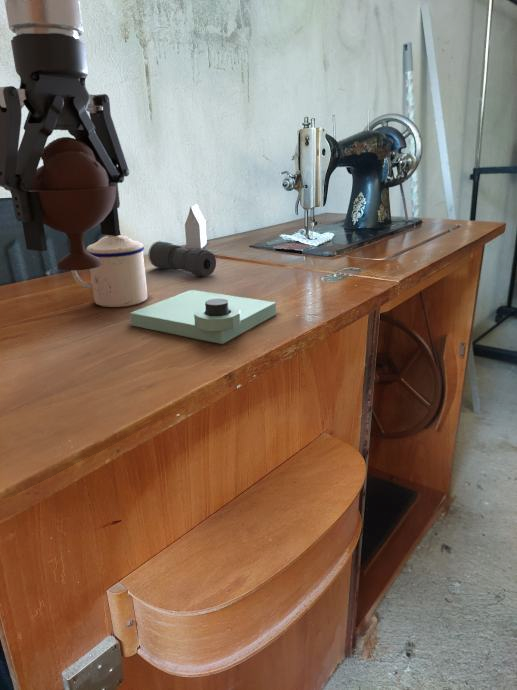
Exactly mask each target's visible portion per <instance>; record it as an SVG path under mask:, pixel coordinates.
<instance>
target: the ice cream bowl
mask: <svg viewBox="0 0 517 690" xmlns="http://www.w3.org/2000/svg"><path fill="white" fill-rule="evenodd" d="M40 161H42V165H41V166H38V168H37V170H36V173H35V176H34V179H33V182H32V185H31V188H30V190H29V191H38V194H39V200H40V206H41V213H42V219H43V225H44V226H47V227H49V228H51V230H54V231H58V232H61V233H64V234H65V235H66V236H67V238H68V241H69V249H70V252H69V253H68V254H66V255H64V256H63V257H62V258H61V259H59V261H57V265H56V266H57V269H58V270H62V271H67V272H69V271H71V270H77V271H86V270H90V269H92V268H96V267H99V266H101V265H102V263H101V261H100V259H99V258H98V257H96V256H94V255H92V254H90V253H88V252H86V247H85V241H84V239H85V235H86V232H88V231H90V230H92V229H94V228H95V227H97V226H98V225H99V224H100V223H101V222H102V221H103V220H104V219H105V218H106V217H107V215H108V214H109V213H110V212H111V210H112V208H113V205H114V202H115V199H116V186H114V185H112V184H108V182H109V180H108V176H107V173H106V170H105V169H104V168H103V167H102V166H101V165H100V164H99V163H98V162H97V161H96V160H95V156H94V154H93V151H92V150H91V149H90V148H89V146H88V145H87V144H85V143H84V142H82V141H80V140H78V139H75V137H70V136H61V137H58V138H56V139H53V140H52V141H51V142H49V143H47V145H45V147H44V150H43V153H42V156H41V159H40Z"/></svg>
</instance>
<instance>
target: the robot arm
mask: <svg viewBox="0 0 517 690" xmlns="http://www.w3.org/2000/svg"><path fill="white" fill-rule="evenodd" d="M80 1H81V0H4V7H5V12H6V18H7V25H8V29H9V30H10V31H11V32H12V33H14V34H15V35H14V36H13V37H12V39H11V40H10V44H11V45H10V46H11V51H12V57H13V63H14V69H15V73H16V74H17V75H18V76H19V79H20V81H19V82H20V83H19V88H17V87H15V86H13V85H9V86H0V187H1V188H3V189H4V190H5V191H8V192H9V193H10V195H11V200H12V205H13V211H14V217H15V219H16V220H17V222H21V223H22V229H23V236H24V241H25V246H26V250H29V251H35V252H47V251H48V244H47V239H46V238H47V237H46V232H45V224H43V219H42V213H41V206H40V200H39V194H38V191H29V190H30V188H31V185H32V182H33V179H34V176H35V173H36V170H37V169H38V168H39V164H40V161H41V156H42V153H43V150H44V148H45V147H46V144H47V141H48V138H49V137H50V136H52V134H53V132H54V131H67V132H68V133H69V135H70V136H72V137H73V138H74V139H78V140H80V141H82V142H84V143H85V144H87V145H88V146H89V148H90V149H91V150H92V151H93V154H94V156H95V160H96V161H97V162H98V163H99V164H100V165H101V166H102V167H103V168H104V169H105V170H106V173H107V176H108V180H109V182H108V184H112V185H114V186H116V199H115V202H114V205H113V208H112V210H111V212H110V213H109V214H108V215H107V217H106V218H105V219H104V220H103V221H102V222H101V223H99V224H100V233H101V235H102V236H107V235H111V236H119V235H121V229H120V227H121V226H120V218H119V211H118V209H119V208H120V206H121V202H120V191H119V184H122V183H124V181H125V177H129V175H130V169H129V165H128V163H127V160H126V156H125V154H124V150H123V147H122V145H121V142H120V139H119V138H120V137H119V135H118V133H117V130H116V127H115V123H114V120H113V118H112V115H111V103H110V97H109V95H108V94H106V93H99V94H91V93H90V92H88V89H87V85H86V79H87V77H88V76H89V68H88V59H87V49H86V45H85V43H84V41H83V40H82V39H80V37H81V36H83V34H84V33H85V32H84V24H83V16H82V9H81V2H80ZM23 107H25V109H27V111H28V113H27V115H26V118H25V122H24V124H23V130H24V132H23V135H22V138H21V141H20V136H21V129H22V127H21V126H22V115H23V114H22V110H23ZM88 113H89V114H88Z"/></svg>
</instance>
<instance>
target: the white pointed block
mask: <svg viewBox="0 0 517 690" xmlns="http://www.w3.org/2000/svg"><path fill="white" fill-rule="evenodd" d="M206 225H207V224H206V219H205V217H204V216H203V213H202V212H201V210H200V207H199V204H198V203H197V204H193V205H192V206H190V207H189V211H188V215H187V218H186V220H185V223H184V232H185V245H186V247H185V248H186V249H194V250H196V249H203V248H204V247H205V246H206V245H207V244H208V241H207V227H206Z"/></svg>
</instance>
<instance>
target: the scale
mask: <svg viewBox="0 0 517 690" xmlns="http://www.w3.org/2000/svg"><path fill="white" fill-rule="evenodd" d="M210 299H226V300H228V305H229V314H227V315H224V316H208V315H206V308H205V302H206V301H207V300H210ZM276 315H277V302H275V301H269V300H262V299H261V300H260V299H255V298H251V297H250V298H249V297H242V296H237V295H229V294H223V293H215V292H208V291H202V290H195V289H189V290H187V291H184V292H182V293H179V294H176V295H173V296H170V297H168V298H165V299H163V300H160V301H158V302H155V303H152V304H150V305H147V306H144V307H142V308H139V309H137V310H134V311H131V312H129V319H130V326H133V327H137V328H142V329H147V330H153V331H156V332H162V333H166V334H172V335H176V336H181V337H186V338H191V339H195V340H201V341H205V342H209V343H210V342H211V343H215V344H220V345H224V344H225V343H227V342H229V341H231V340H232V339H234V338H236V337H238V336H240V335H242V334H243V333H245V332H247V331H249V330H250V329H253V328H254V327H256V326H258V325H260V324H261V323H263V322H265V321H267V320H269V319H271V318H273V317H274V316H276Z"/></svg>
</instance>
